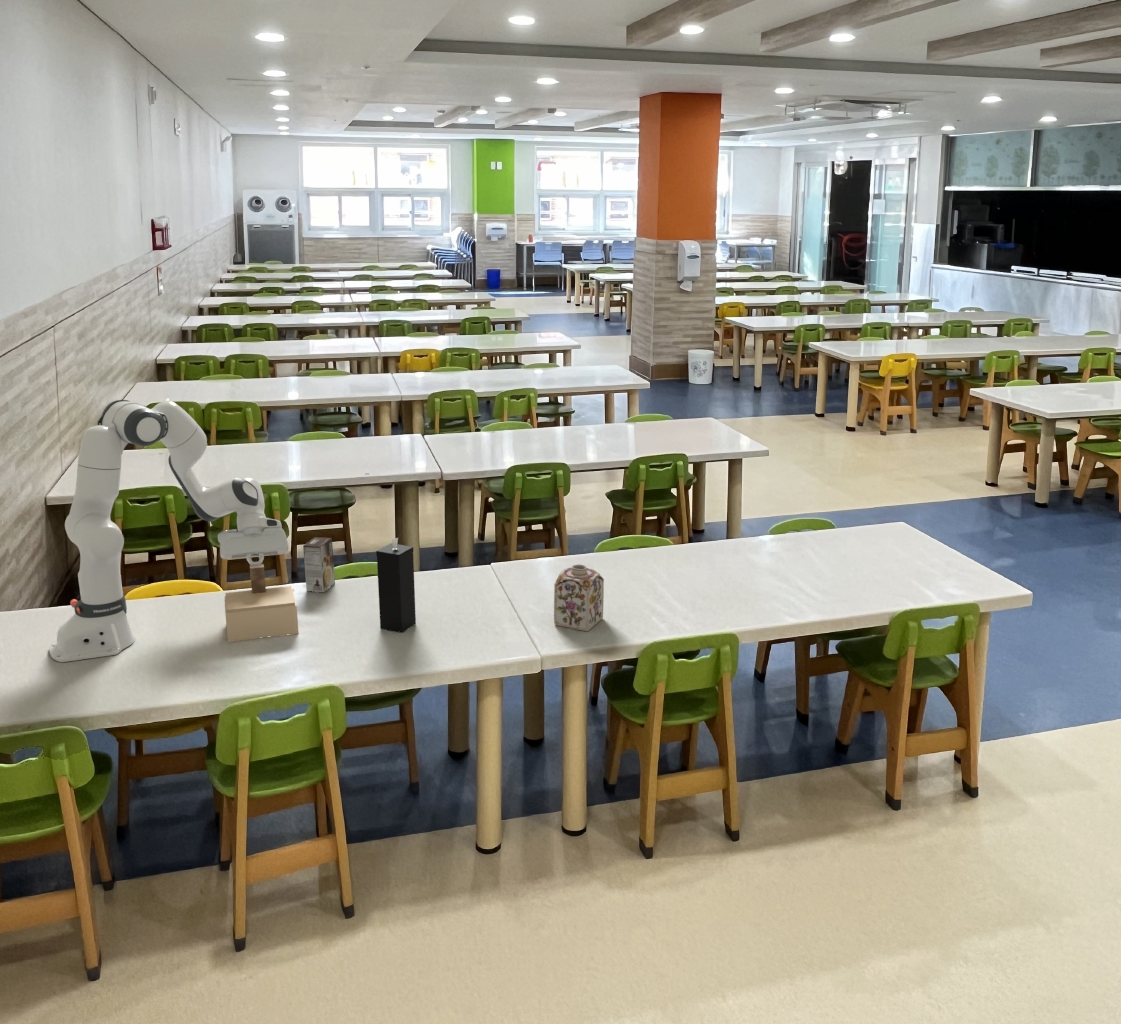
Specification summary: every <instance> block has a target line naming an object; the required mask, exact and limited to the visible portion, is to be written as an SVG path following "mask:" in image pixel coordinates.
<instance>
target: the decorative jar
mask: <svg viewBox="0 0 1121 1024" xmlns="http://www.w3.org/2000/svg"><path fill="white" fill-rule="evenodd" d="M557 576H558V577H557V578H556V580H555V583H554V588H553V589H554V592H553V594H554V597H553V599H554V600H553V605H554V606H553V620H554V621H553V624H554V626H557V627H563V628H568V629H573V630H577V631H581V632H582V631H584V632H589V631H590V630H592V629H593V627H595V626H596V625H597V624H598V623H599V622H600V621H602V620H603V618H604V598H605V597H604V595H605V594H604V591H605V590H604V589H605V588H604V584H605V582H604V580H605V579H604V577H603V576H602V575H601V574H600V573H599V572H597V571H596V570H595V569H593V568H589V567H588V566H587V565H584V564H579V563H578V564H574V565H571V567H567V568H565V569H563V570H562V571H561V572H560V573H559V574H558V575H557Z"/></svg>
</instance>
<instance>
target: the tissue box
mask: <svg viewBox="0 0 1121 1024" xmlns="http://www.w3.org/2000/svg"><path fill="white" fill-rule="evenodd" d="M398 540H399V537H396V538H391V543H389V544H387V545H385V546H383V547H381V548H379V549H377V550H375V552H376V566H377V582H378V583H377V584H378V585H377V587H378V606H379V607H378V608H379V628H380V629H382V630H383V629H384V630H386V631H390V632H394V631H395V633H401V634H403V633H404V632H405V631H407V630H408V628H409V629H410V628H411V627H413V626H414V625H416V624H417V621H416V619H417V618H416V593H415V591H416V590H415V569H414V567H415V566H414V546H410V545H404V544H399V543H398Z"/></svg>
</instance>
